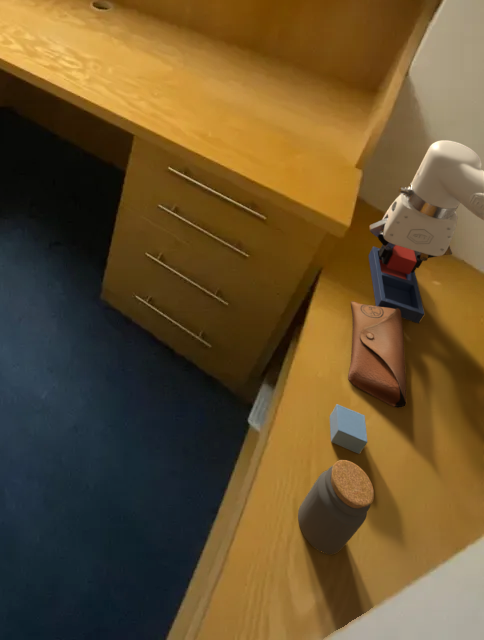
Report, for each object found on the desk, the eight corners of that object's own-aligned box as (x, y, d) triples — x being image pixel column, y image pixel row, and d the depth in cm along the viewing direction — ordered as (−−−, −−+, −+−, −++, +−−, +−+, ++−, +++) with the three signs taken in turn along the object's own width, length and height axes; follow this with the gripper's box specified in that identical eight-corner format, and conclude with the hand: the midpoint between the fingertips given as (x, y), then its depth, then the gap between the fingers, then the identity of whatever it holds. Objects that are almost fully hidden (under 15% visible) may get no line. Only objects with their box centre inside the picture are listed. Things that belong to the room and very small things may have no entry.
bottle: (335, 505, 74) (368, 459, 66) (349, 560, 69) (387, 517, 61) (292, 496, 75) (321, 450, 67) (303, 549, 70) (335, 506, 62)
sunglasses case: (348, 297, 101) (377, 287, 97) (377, 322, 100) (408, 313, 96) (346, 383, 88) (380, 376, 83) (380, 412, 87) (416, 407, 82)
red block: (406, 258, 105) (413, 246, 103) (409, 274, 102) (416, 261, 100) (383, 252, 106) (390, 239, 104) (386, 267, 103) (393, 254, 101)
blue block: (356, 427, 82) (364, 415, 80) (359, 454, 79) (367, 442, 77) (329, 415, 84) (336, 403, 82) (330, 442, 81) (338, 430, 79)
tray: (406, 267, 108) (411, 257, 106) (418, 323, 97) (424, 314, 96) (368, 255, 110) (372, 246, 109) (376, 309, 100) (381, 300, 98)
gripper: (382, 200, 95) (352, 263, 104) (492, 229, 89) (449, 293, 98) (377, 173, 101) (349, 235, 110) (479, 199, 95) (441, 262, 104)
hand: (396, 262), depth 104 cm, fingers closed on red block, 3 cm apart
